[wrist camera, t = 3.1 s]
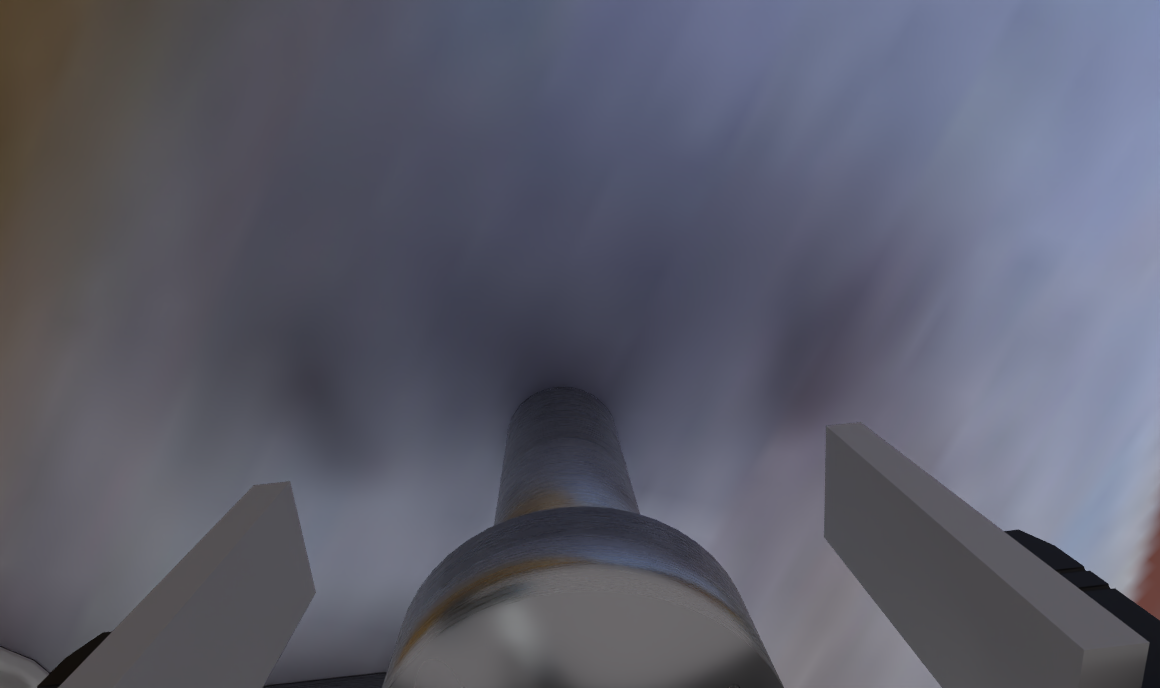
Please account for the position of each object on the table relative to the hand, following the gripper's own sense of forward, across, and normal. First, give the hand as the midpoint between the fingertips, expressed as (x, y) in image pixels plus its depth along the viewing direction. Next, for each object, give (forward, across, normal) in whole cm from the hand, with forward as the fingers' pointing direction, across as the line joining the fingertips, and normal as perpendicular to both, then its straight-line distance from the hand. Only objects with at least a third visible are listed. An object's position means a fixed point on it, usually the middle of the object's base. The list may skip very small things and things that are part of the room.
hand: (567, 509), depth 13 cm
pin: (+4, 0, 0) cm, 4 cm away
